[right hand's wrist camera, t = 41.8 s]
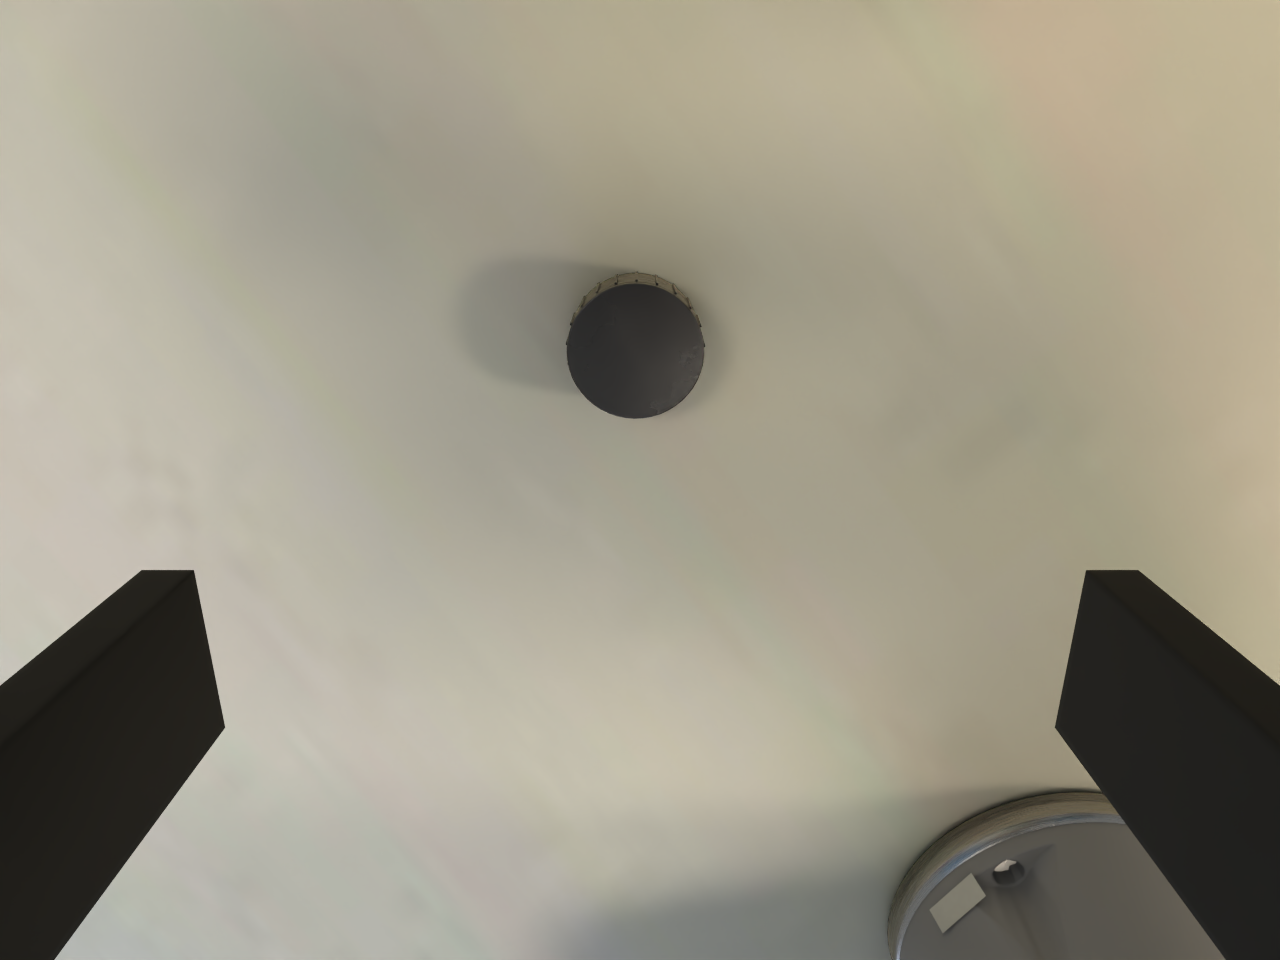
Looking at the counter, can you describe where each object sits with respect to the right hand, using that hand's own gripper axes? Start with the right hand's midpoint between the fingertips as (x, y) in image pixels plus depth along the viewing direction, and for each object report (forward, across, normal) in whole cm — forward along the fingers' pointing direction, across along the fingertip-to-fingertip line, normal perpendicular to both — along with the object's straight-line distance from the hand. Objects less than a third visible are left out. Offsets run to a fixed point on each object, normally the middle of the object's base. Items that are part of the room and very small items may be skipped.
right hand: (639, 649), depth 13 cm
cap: (+18, 0, -1) cm, 18 cm away
